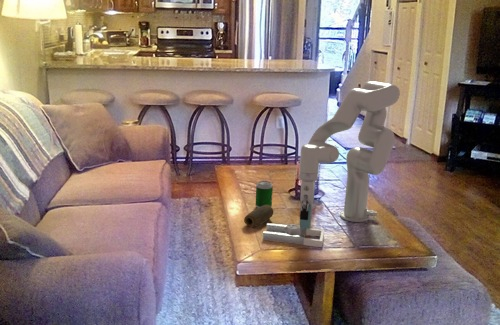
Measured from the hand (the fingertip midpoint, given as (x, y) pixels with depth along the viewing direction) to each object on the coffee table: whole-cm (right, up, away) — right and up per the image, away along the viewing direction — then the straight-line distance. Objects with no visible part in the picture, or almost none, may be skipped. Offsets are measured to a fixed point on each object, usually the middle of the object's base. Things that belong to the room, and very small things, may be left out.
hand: (305, 215), depth 207 cm
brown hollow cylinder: (-19, -4, +7) cm, 21 cm away
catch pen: (+2, -9, -8) cm, 12 cm away
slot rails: (-9, -8, -6) cm, 13 cm away
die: (-6, -8, -7) cm, 12 cm away
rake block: (0, -6, +2) cm, 6 cm away
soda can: (-16, +1, +25) cm, 30 cm away
